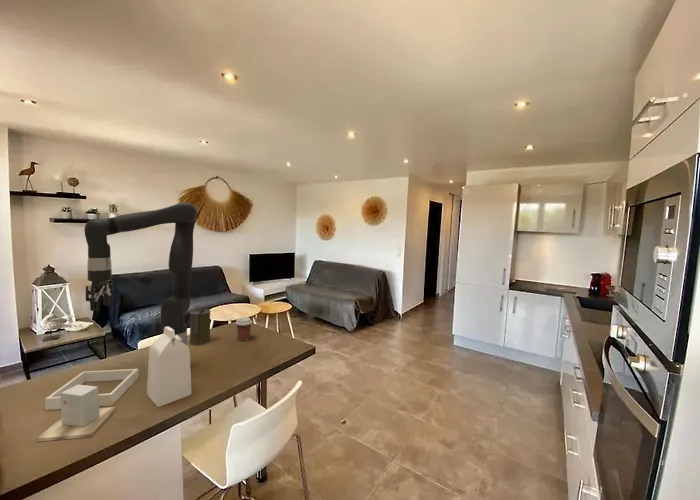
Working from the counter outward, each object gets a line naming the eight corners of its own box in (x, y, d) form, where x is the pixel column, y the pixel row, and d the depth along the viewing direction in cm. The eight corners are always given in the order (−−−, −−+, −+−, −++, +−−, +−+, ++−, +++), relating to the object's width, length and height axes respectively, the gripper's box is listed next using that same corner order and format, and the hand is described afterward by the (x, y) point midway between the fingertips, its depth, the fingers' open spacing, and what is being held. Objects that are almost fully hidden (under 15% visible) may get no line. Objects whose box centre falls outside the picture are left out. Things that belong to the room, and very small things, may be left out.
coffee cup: (242, 343, 169) (242, 322, 168) (231, 339, 174) (232, 319, 173) (255, 338, 177) (255, 318, 176) (245, 335, 182) (245, 315, 181)
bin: (138, 377, 128) (138, 368, 127) (111, 405, 108) (111, 394, 108) (83, 380, 124) (83, 371, 123) (45, 410, 104) (45, 398, 104)
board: (116, 409, 106) (116, 406, 106) (91, 436, 92) (91, 433, 92) (69, 413, 103) (69, 410, 103) (36, 441, 89) (36, 438, 89)
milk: (146, 394, 116) (146, 328, 114) (179, 383, 125) (179, 321, 123) (158, 407, 108) (157, 336, 107) (191, 394, 117) (191, 329, 115)
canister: (194, 338, 174) (194, 304, 172) (213, 338, 175) (213, 304, 173) (185, 345, 163) (186, 309, 161) (206, 345, 164) (206, 309, 162)
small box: (100, 417, 100) (99, 386, 99) (82, 428, 95) (82, 395, 94) (79, 414, 101) (78, 383, 100) (60, 424, 96) (59, 392, 95)
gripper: (99, 266, 129) (100, 303, 130) (77, 271, 115) (78, 312, 116) (119, 266, 130) (120, 303, 131) (99, 271, 116) (100, 312, 117)
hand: (100, 307), depth 124 cm, fingers open, 8 cm apart
